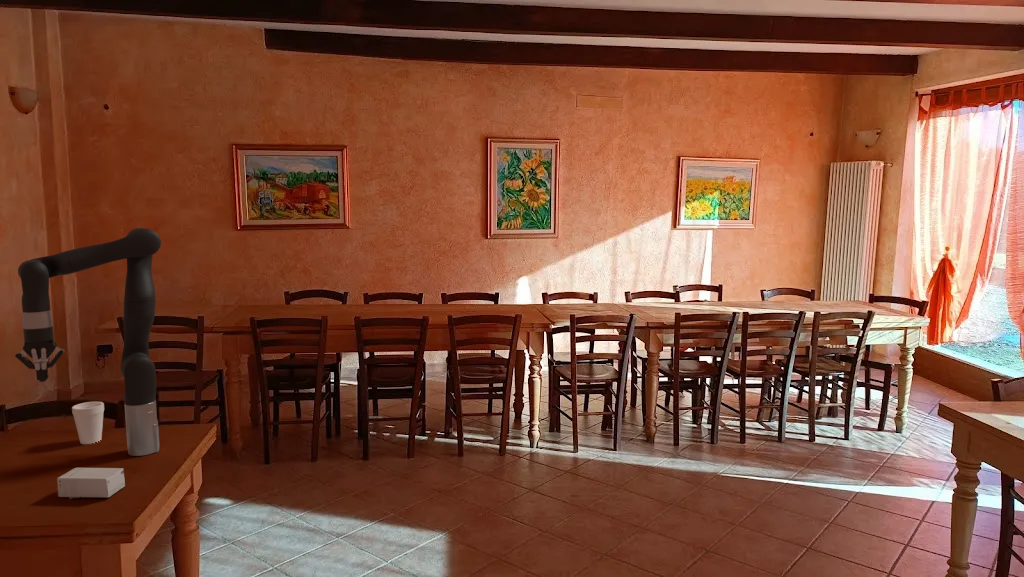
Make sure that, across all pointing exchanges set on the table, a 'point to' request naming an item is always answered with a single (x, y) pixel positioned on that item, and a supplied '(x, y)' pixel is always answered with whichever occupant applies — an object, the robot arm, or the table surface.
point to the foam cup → (89, 421)
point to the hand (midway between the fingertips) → (42, 381)
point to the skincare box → (91, 482)
